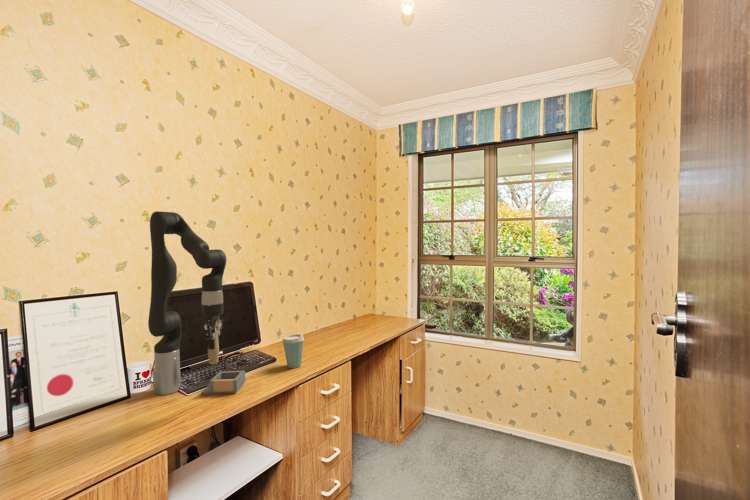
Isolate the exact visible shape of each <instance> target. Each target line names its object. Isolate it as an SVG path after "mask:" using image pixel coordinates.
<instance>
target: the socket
mask: <svg viewBox="0 0 750 500" xmlns="http://www.w3.org/2000/svg"><path fill="white" fill-rule="evenodd" d="M208 382H209V384H208V385H206V387H205V388H204V389H203V390H202V391H201V395H218V394H221V395H222V394H237V393H238V391H239V390H240V389H241V388H242V386H244V384H245V382H246V370H229V371H228V370H227V371H219V372H218V373H216V375H215V376H213V377H212V378H211V379H210V380H209V381H208Z"/></svg>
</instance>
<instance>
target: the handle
mask: <svg viewBox="0 0 750 500" xmlns="http://www.w3.org/2000/svg"><path fill="white" fill-rule="evenodd" d="M216 326H217V327H216V333H215V336H214V343H215V348H214V349H208V348H207V358H208V364H209V365H216V364H218V363H219V362H220V361H219V356H220V342H219V343H218V329H219V328H220V327H221V323H219V324H217V325H216ZM213 330H214V327H213V328H211V331H213Z"/></svg>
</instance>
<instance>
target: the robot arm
mask: <svg viewBox="0 0 750 500" xmlns="http://www.w3.org/2000/svg"><path fill="white" fill-rule="evenodd" d="M149 232H150V242H151V269H150V279H151V280H150V281H151V287H150V290H151V291H150V305H149V313H148V320H147V321H148V322H147V324H148V325H147V326H148V331H149V333H150V335H151V336H153V337H155V338H157V337H158V338H159V337H162V338H161V339H160V340H159V341H158V342H157V343H155V344H154V347H153V350H154V351H153V354H154V369H153V370H152V388H153V389H152V390H153V394H154V395H155V394H156V395H162V396H164V395H165V396H166V395H170V394H173V393H176V392H179V391H178V388H179V387H180V385H181V386H182V384H181V358H180V357H181V356H180V354H181V353H180V343H181V340H182V319H181V317H180V314H179V313H178V312H176V311H174V310H170V311H166V307H167V301H168V299H169V297H170V296H171V294H172V292H173V290H174V288H175V286H176V283H177V279H178V278H177V277H178V276H177V274H178V273H177V272H178V269H177V264H176V261H175V259H174V258H173V257H172V255H171V253H170V252H169V250H168V249H167V246H166V242H165V235H177V236H179V237H180V243H181V246H182V248H183V249H184V250H185V251H187V253H189V254H190V255H191V256H192V259H193V260H194V262H195V265H197V266H198V267H199V268H201V269H203V270H209V269H211V271H210V272H209V273H208V274H206V275H203V276H202V278H201V316H203V317H206V319H205V324H202V326H201V327H202V328H201V329H202V332H203V333H202V334H203V337H204V340H207V350H208V349H214V348H215V343H214V336H215V333H216V327H217V326H216V325H217V324H219V323H221V327H220V328H219V329H218V343H219V344H220V335H221V333H222V332H223V331H222V330H223V322H224V321H223V320H224V317H222V316H221V315H223V314H224V311H225V310H224V293H223V277H224V274H225V270H226V267H227V255H226V253H225V252H224V251H223V250H222V249H210V246H209V244H208V242H206V241H205V240H204V239H202V238H201V237H200V236H199V235H197V234H196V232H194V230H192V228H191V227H190V225H189V224H188V223H187V222H186V220H185V219H184V217H182V216H181V215H180V214H178V212H174V211H153V212H152V213H151V215H150V219H149ZM213 327H214V330H213V331H211V328H213Z"/></svg>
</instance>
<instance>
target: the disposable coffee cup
mask: <svg viewBox="0 0 750 500" xmlns="http://www.w3.org/2000/svg"><path fill="white" fill-rule="evenodd" d="M304 342H305V337H304V335H303V334H301V333H293V334H290V335H289V334H288V335H287V336H284V337H283V338H282V344H283V349H284V354H285V359H286V360H285V361H286V365H287V367H288V368H290V369H297V368H299V367H301V365H302V360H303V351H304Z"/></svg>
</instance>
